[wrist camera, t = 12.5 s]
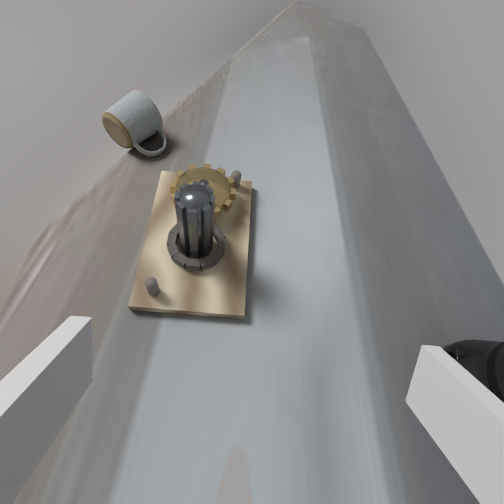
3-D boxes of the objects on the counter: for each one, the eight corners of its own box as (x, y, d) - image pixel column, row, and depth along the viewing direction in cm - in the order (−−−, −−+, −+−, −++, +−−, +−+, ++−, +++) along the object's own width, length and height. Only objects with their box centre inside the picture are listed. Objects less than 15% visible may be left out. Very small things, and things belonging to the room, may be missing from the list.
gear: (236, 182, 57) (238, 163, 53) (231, 230, 52) (234, 213, 48) (177, 175, 56) (175, 155, 52) (167, 223, 51) (164, 205, 47)
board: (251, 187, 59) (254, 169, 55) (243, 319, 46) (247, 308, 42) (162, 176, 57) (159, 157, 53) (130, 309, 45) (123, 297, 41)
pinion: (214, 234, 51) (216, 183, 41) (210, 261, 48) (213, 213, 38) (183, 231, 50) (177, 178, 40) (178, 258, 48) (171, 209, 38)
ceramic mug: (104, 139, 60) (92, 102, 53) (136, 118, 64) (129, 81, 57) (147, 167, 58) (140, 133, 51) (177, 144, 62) (175, 109, 55)
